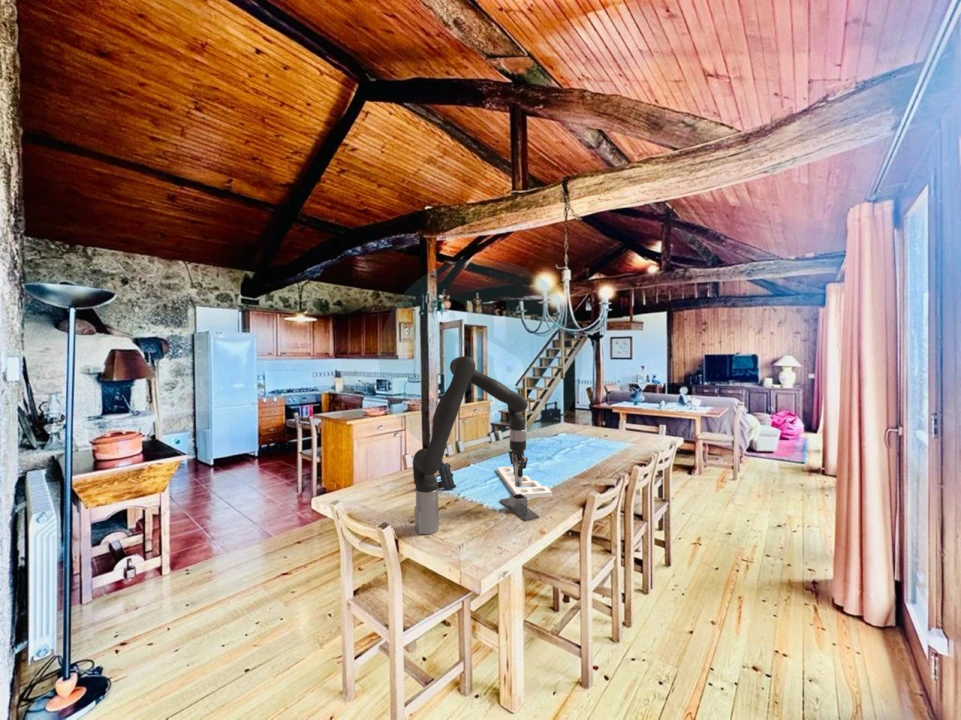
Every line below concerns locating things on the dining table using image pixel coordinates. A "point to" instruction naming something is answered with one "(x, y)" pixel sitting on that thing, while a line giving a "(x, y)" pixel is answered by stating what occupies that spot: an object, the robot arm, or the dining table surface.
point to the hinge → (519, 506)
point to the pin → (517, 479)
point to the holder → (523, 484)
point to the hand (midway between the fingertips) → (518, 475)
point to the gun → (445, 477)
